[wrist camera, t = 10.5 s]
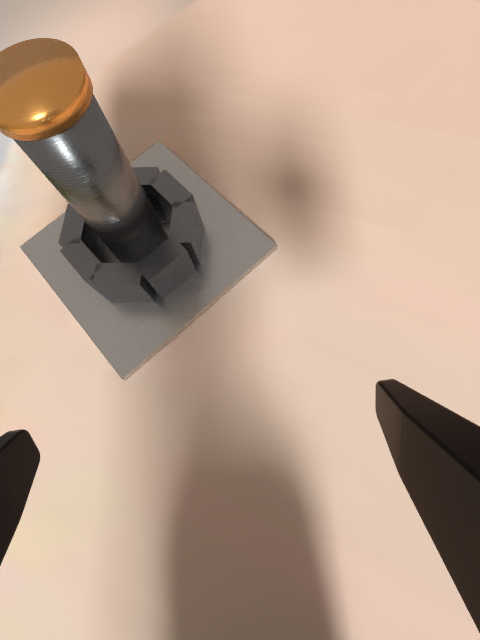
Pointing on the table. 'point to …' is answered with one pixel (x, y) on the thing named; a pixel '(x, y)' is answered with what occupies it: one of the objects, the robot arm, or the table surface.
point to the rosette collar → (150, 264)
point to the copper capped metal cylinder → (75, 144)
